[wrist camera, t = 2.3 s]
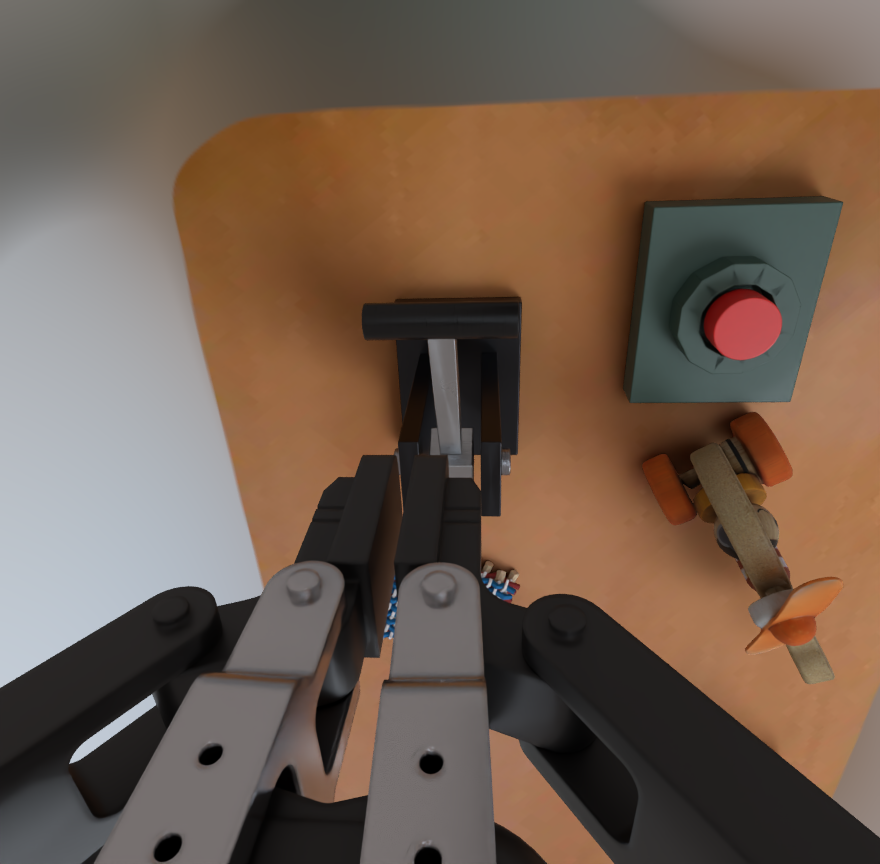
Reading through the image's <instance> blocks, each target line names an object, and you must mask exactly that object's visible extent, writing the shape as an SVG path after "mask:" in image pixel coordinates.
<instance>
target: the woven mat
mask: <svg viewBox="0 0 880 864" xmlns="http://www.w3.org/2000/svg"><path fill="white" fill-rule="evenodd" d="M493 565H494V564H493V563H492V562H490V561H486V563H485V565H484V567H483V569H482V571H481V578H482V581H483V583H484V584H485V586H486V587H487V588H488V590H489V591H490V592H492V593H493V594H494V595H495V596H497V597H498V598H500V599H502V600H504V601H506V602H508V603H511V601H512V595H511V594H513V595H515V593H516V589H517V590H518V589H519V588H520V585H519V584H517V583H514V582H515V581H516V579H517V577H518V575H519V573H518V572H517V571H516V570H511V572H510V574H509V575H508V577H507V578H506V577H505V575H506V572H504V571H502V570H497V572H495V573H490V571H491V569H492V567H493ZM514 588H515V589H514ZM394 597H395V598H394ZM397 603H398V601H397V591H396V581H395V577H394V583H393V588H392V593H391V599H390V604H389V609H388V615H387V620H386V625H385V631H384V636H383V639H384V638H385V637H388V639H391V638H394V630H395V621H396V612H397ZM392 625H393V626H392ZM386 631H388V632H386Z"/></svg>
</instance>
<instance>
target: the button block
mask: <svg viewBox="0 0 880 864" xmlns="http://www.w3.org/2000/svg"><path fill="white" fill-rule="evenodd" d="M842 205H843V202H842V201H838V200H835V199H831V198H828V197H824V196H812V197H778V198H745V199H711V200H678V201H646V202H645V206H644V215H643V223H642V232H641V240H640V249H639V257H638V266H637V274H636V283H635V291H634V300H633V308H632V317H631V325H630V334H629V342H628V351H627V359H626V368H625V376H624V385H623V390H624V392H625V394H626V396H627V398H628V400H629V402H630V403H697V402H790V401H791V397H792V394H793V390H794V386H795V382H796V378H797V375H798V371H799V367H800V363H801V360H802V356H803V352H804V348H805V345H806V341H807V337H808V333H809V330H810V326H811V322H812V318H813V314H814V311H815V307H816V303H817V299H818V296H819V292H820V288H821V284H822V281H823V277H824V273H825V269H826V266H827V262H828V258H829V254H830V250H831V247H832V243H833V239H834V235H835V232H836V228H837V224H838V220H839V217H840V213H841V209H842ZM737 289H750V290H754V291H756V292H758V293H760V294H761V295H763V296H764V297H766V298H767V299H768V300H770V301H771V302H773V303H774V304H775V305H776V306H777V307H778V309H779V311H780V313H781V316H782V328H781V332H780V334H779V337H778V338H777V340H776V342H775V343H774V344H773V345H772V346H771V347H770V348H769V349H768V350H767V351H766V352H764V353H763V354H761V355H759V356H757V357H755V358H751V359H747V360H734V359H730V358H727V357H725V356H724V355H722V354H721V353H720V352H719V351H718V350H717V349H716V348H715V347H714V346H713V345H712V344H711V343H710V341H709V340H708V339H707V337H706V335H705V332H704V319H705V316H706V313H707V311H708V309H709V308H710V306H711V305H712V304H713V302H714V301H715V300H717V299H718V298H719V297H720V296H722V295H724V294H725V293H727V292H730V291H733V290H737Z"/></svg>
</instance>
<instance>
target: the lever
mask: <svg viewBox="0 0 880 864" xmlns="http://www.w3.org/2000/svg"><path fill="white" fill-rule="evenodd" d="M362 330H363V335H364V338H365V340H428V348H429V357H430V367H431V376H432V385H433V394H434V404H435V413H436V422H437V428H431V432H430V448H429V455H448V461H449V478H472V479H473V481H474V441H473V428H462V427H461V408H460V390H459V371H458V353H457V339H502V338H518V335H519V302H518V301H464V302H409V303H365V304H364V305H363V309H362Z"/></svg>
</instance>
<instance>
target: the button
mask: <svg viewBox="0 0 880 864" xmlns="http://www.w3.org/2000/svg"><path fill="white" fill-rule="evenodd" d="M781 328H782V316H781V313H780V311H779V309H778V307H777V306H776V305H775V304H774V303H773V302H771V301H770V300H768V299H767V298H766V297H764V296H763V295H761V294H760V293H758V292H756V291H754V290H750V289H737V290H733V291H730V292H727V293H725V294H724V295H722V296H720V297H719V298H718V299H717V300H715V301H714V302H713V304H712V305H711V306H710V308H709V309H708V311H707V313H706V316H705V319H704V332H705V335H706V337H707V339H708V340H709V341H710V343H711V344H712V345H713V346H714V347H715V348H716V349H717V350H718V351H719V352H720V353H721V354H722V355H724V356H725V357H727V358H730V359H734V360H747V359H751V358H755V357H757V356H759V355H761V354H763V353H764V352H766V351H767V350H768V349H769V348H770V347H771V346H772V345H773V344H774V343H775V342H776V340H777V338H778V337H779V334H780V332H781Z"/></svg>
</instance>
